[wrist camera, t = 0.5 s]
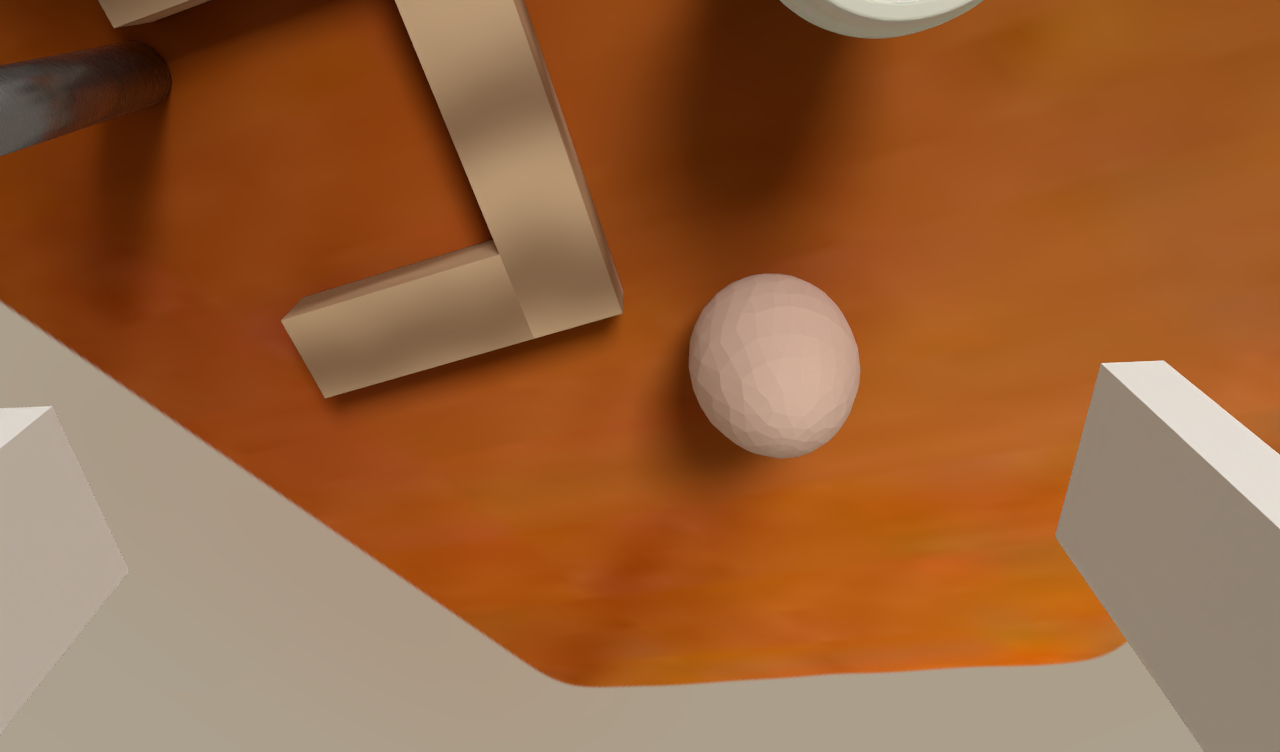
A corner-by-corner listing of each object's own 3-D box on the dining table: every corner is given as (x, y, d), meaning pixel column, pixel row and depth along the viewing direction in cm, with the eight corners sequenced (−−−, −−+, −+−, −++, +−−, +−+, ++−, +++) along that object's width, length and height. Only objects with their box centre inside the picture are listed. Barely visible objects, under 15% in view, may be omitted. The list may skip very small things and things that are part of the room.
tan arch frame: (88, -93, 29) (43, -96, 27) (443, -234, 27) (426, -250, 25) (343, 372, 38) (324, 398, 36) (623, 291, 36) (622, 313, 34)
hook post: (50, -24, 30) (-192, -11, 21) (105, -46, 30) (-117, -41, 21) (131, 113, 33) (-57, 175, 24) (183, 94, 32) (11, 151, 23)
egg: (691, 239, 35) (708, 334, 27) (844, 250, 35) (911, 348, 27) (676, 376, 38) (687, 499, 30) (816, 385, 39) (867, 510, 30)
